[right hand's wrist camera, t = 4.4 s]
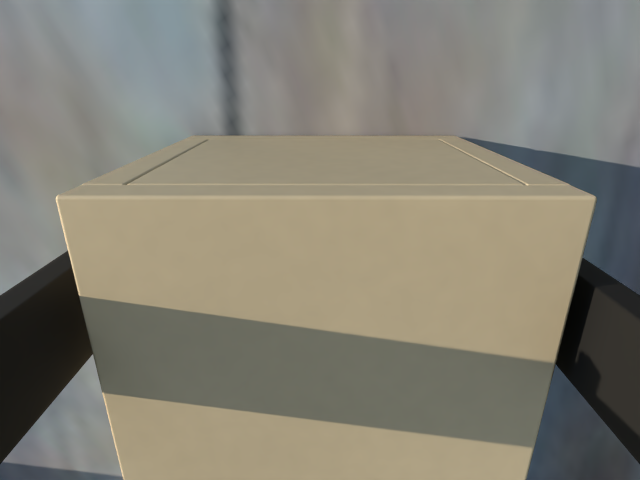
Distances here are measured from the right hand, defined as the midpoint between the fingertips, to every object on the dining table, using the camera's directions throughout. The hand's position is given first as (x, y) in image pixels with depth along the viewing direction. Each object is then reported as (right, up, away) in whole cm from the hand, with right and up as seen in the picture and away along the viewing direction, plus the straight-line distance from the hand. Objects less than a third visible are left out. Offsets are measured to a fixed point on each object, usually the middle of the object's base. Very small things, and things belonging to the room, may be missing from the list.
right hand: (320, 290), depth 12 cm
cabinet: (0, -3, +9) cm, 10 cm away
